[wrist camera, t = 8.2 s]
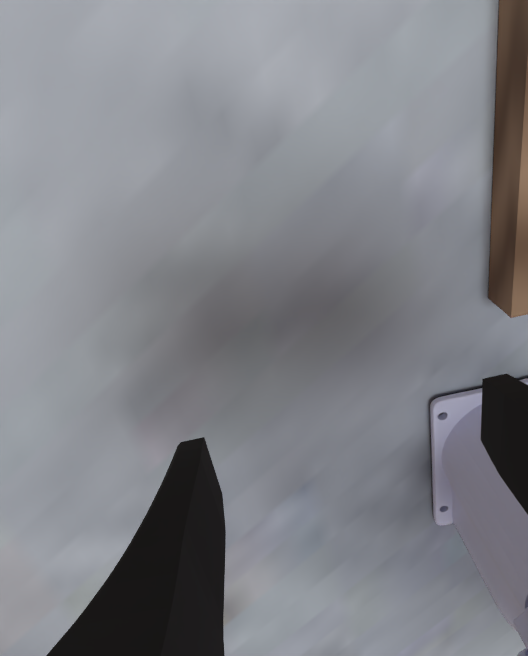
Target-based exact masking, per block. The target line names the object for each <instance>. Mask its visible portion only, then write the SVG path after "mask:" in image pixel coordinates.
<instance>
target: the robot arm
mask: <svg viewBox="0 0 528 656" xmlns="http://www.w3.org/2000/svg"><path fill="white" fill-rule="evenodd" d="M442 412H444V413H443V414H442V415H440V416H438V415H439V414H440V413H442ZM430 416H431V449H432V482H433V515H434V520H435V522H436V524H438V525H441V526H443V525H449V524H453V523H454V525H455V527H456V529H457V530H458V532H459V534H460V536H461V538H462V540H463V542H464V544H465V546H466V548H467V550H468V551H469V553H470V555H471V557H472V559H473V561H474V563H475V565H476V567H477V569H478V571H479V572H480V574H481V576H482V578H483V580H484V582H485V584H486V586H487V588H488V590H489V592H490V593H491V595H492V597H493V599H494V601H495V603H496V605H497V607H498V609H499V610H500V612H501V613H502V615H503V616H504V618H505V619H506V620H507V622H508V623H509V624H510V625H511V626H512V627H513V628H514V629H515V630H516V631H517V632H518V633H519V635H520V637H521V639H522V641H523V642H524V644H525V646H526V649H524V650H522V651H521V652H519V654H518V655H517V656H528V378H527V379H522V380H518V379H516V378H514V377H512V376H510V375H508V374H504V375H499V376H494V377H489V378H485V379H483V385H482V388H480V389H475V390H470V391H466V392H461V393H456V394H451V395H447V396H442V397H438V398H436V399H434V400H433V401H432V403H431V405H430ZM224 574H225V519H224V508H223V497H222V492H221V489H220V485H219V482H218V479H217V476H216V473H215V470H214V467H213V464H212V461H211V457H210V454H209V451H208V448H207V445H206V442H205V439H204V437H203V438H199V439H194V440H189V441H184V442H181V443H180V444H179V445H178V447H177V449H176V452H175V454H174V457H173V459H172V461H171V464H170V466H169V468H168V471H167V473H166V475H165V477H164V480H163V482H162V484H161V486H160V488H159V490H158V492H157V494H156V496H155V498H154V500H153V502H152V504H151V506H150V508H149V510H148V512H147V514H146V516H145V518H144V520H143V521H142V523H141V525H140V527H139V529H138V530H137V532H136V534H135V536H134V537H133V539H132V541H131V543H130V544H129V546H128V548H127V549H126V551H125V553H124V554H123V556H122V557H121V559H120V561H119V562H118V564H117V565H116V567H115V568H114V570H113V571H112V573H111V574H110V576H109V577H108V579H107V580H106V581H105V583H104V584H103V586H102V587H101V588H100V590H99V591H98V592H97V594H96V595H95V597H94V598H93V599H92V601H91V602H90V603H89V605H88V606H87V607H86V609H85V610H84V611H83V613H82V614H81V615H80V616H79V618H78V619H77V620H76V621H75V623H74V624H73V625H72V626H71V628H70V629H69V630H68V631H67V632H66V633H65V635H64V636H63V637H62V638H61V639H60V640H59V642H58V643H57V644H56V645H55V646H54V647H53V649H52V650H51V651H50V652H49V653H48V654H47V656H224V642H223V609H224Z"/></svg>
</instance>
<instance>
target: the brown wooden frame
mask: <svg viewBox="0 0 528 656" xmlns="http://www.w3.org/2000/svg"><path fill="white" fill-rule="evenodd" d="M488 298H489V299H490V300H491V301H492V302H493V303H495V304H496V305H497V306H498V307H499V308H500V309H501V310H503V311H504V312H505V313H506V314H507V315H508V316H510V317H511V318H512V317H517V316H522V315H526V314H528V0H499V24H498V51H497V78H496V105H495V132H494V159H493V186H492V213H491V240H490V268H489V295H488Z"/></svg>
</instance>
